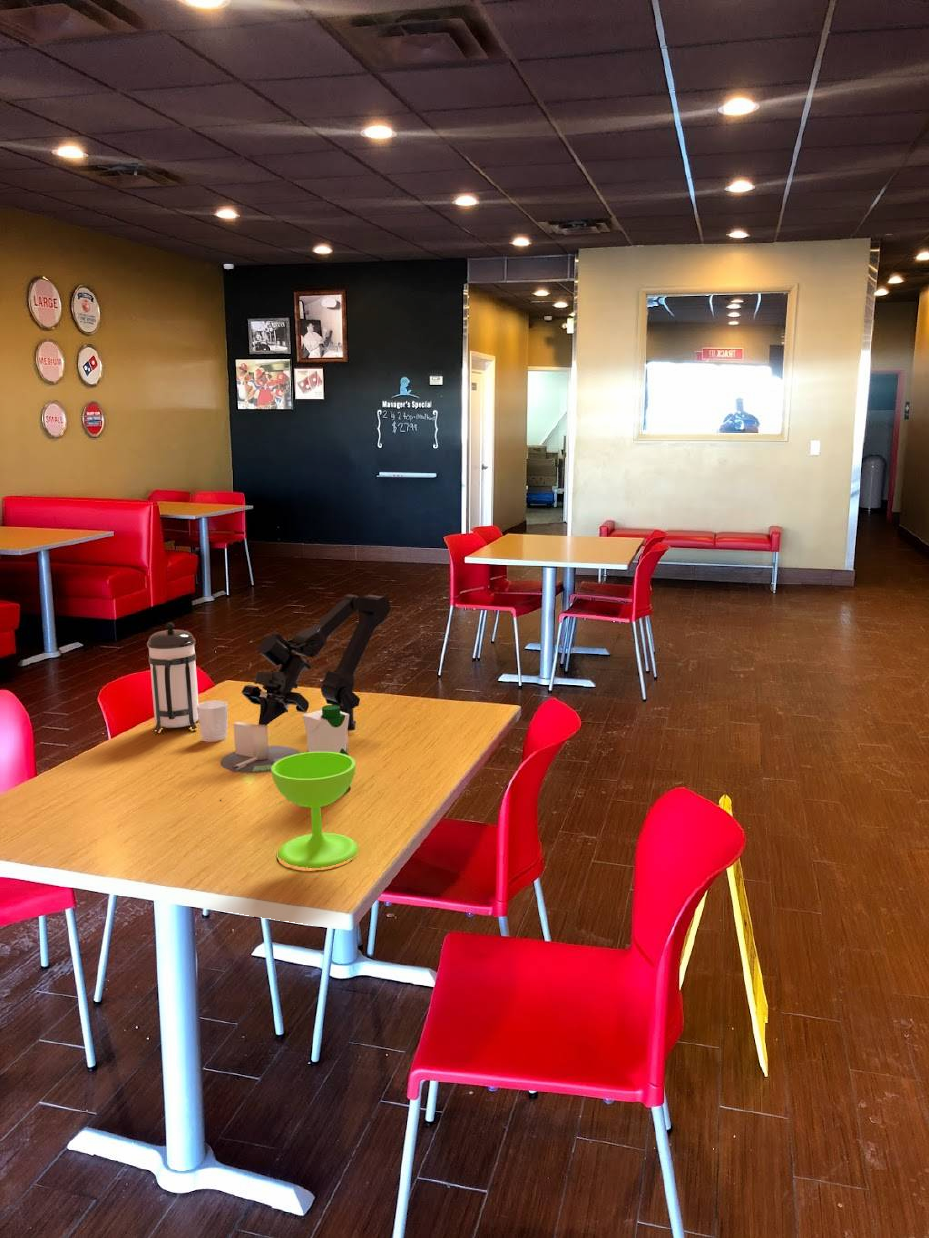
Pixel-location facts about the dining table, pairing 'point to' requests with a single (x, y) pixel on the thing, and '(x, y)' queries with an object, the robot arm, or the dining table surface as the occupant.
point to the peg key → (250, 742)
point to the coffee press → (173, 678)
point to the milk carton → (327, 730)
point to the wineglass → (315, 805)
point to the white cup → (213, 720)
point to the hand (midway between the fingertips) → (260, 726)
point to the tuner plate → (257, 765)
